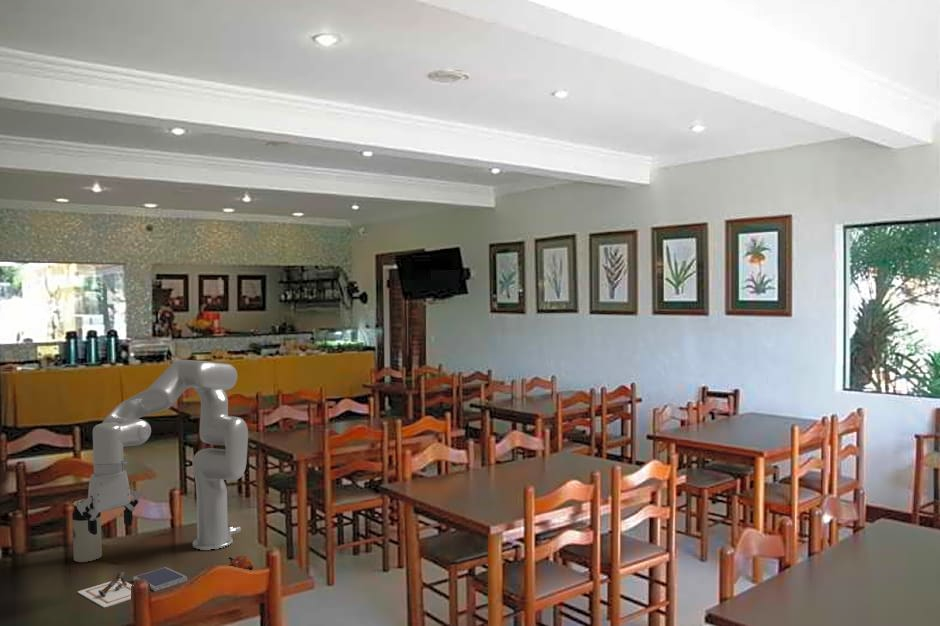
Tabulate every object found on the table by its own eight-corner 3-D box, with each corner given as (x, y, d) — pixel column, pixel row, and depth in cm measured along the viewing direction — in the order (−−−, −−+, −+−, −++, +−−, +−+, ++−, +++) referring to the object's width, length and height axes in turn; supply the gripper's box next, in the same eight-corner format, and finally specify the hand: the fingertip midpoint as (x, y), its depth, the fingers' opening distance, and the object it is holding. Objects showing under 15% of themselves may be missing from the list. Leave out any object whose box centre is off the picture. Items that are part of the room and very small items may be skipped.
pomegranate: (257, 584, 230) (238, 559, 234) (265, 569, 226) (245, 543, 230) (236, 595, 224) (217, 569, 228) (243, 580, 220) (224, 553, 224)
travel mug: (103, 552, 251) (101, 496, 250) (100, 561, 243) (98, 503, 242) (75, 555, 248) (74, 499, 248) (71, 564, 241) (69, 506, 240)
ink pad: (165, 570, 235) (165, 566, 235) (187, 580, 227) (187, 575, 227) (133, 580, 227) (133, 576, 227) (154, 591, 220) (154, 586, 219)
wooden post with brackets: (130, 582, 222) (124, 570, 221) (108, 603, 216) (102, 591, 214) (126, 581, 223) (120, 569, 221) (104, 602, 217) (97, 590, 215)
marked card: (119, 579, 228) (119, 578, 228) (147, 593, 218) (147, 592, 218) (77, 592, 219) (77, 591, 219) (104, 607, 209) (104, 606, 209)
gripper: (132, 460, 226) (134, 518, 227) (70, 472, 213) (72, 534, 214) (145, 464, 221) (147, 524, 222) (83, 476, 208) (85, 540, 209)
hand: (110, 529), depth 218 cm, fingers open, 9 cm apart
